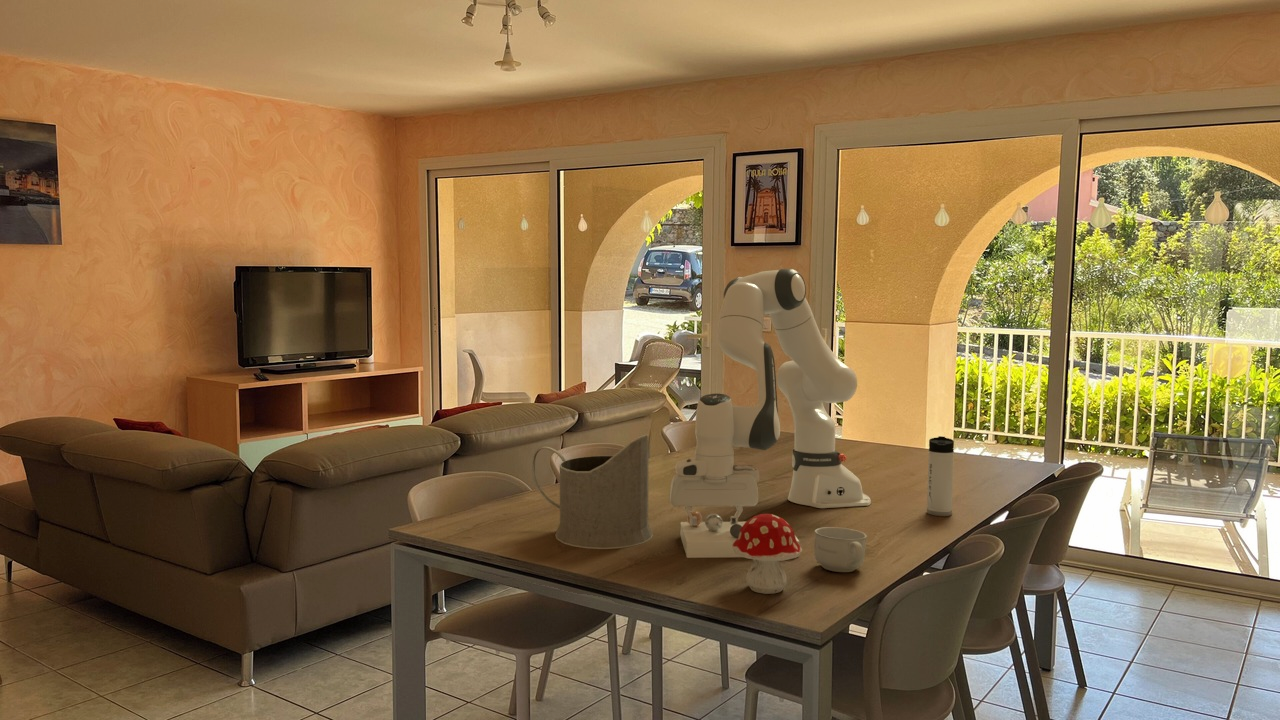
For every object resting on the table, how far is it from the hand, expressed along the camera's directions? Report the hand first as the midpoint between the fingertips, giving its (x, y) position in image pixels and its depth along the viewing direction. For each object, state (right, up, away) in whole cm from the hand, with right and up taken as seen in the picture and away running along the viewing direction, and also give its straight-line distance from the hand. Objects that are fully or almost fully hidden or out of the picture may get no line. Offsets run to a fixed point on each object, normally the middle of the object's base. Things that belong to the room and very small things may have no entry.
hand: (713, 524), depth 212 cm
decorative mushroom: (+8, -8, -29) cm, 31 cm away
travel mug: (+62, -3, +31) cm, 69 cm away
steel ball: (0, +1, 0) cm, 1 cm away
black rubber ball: (+5, 0, -5) cm, 7 cm away
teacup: (+26, -7, -18) cm, 32 cm away
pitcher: (-29, -4, +11) cm, 32 cm away
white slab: (+6, -5, 0) cm, 7 cm away
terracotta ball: (-4, +1, +4) cm, 6 cm away
